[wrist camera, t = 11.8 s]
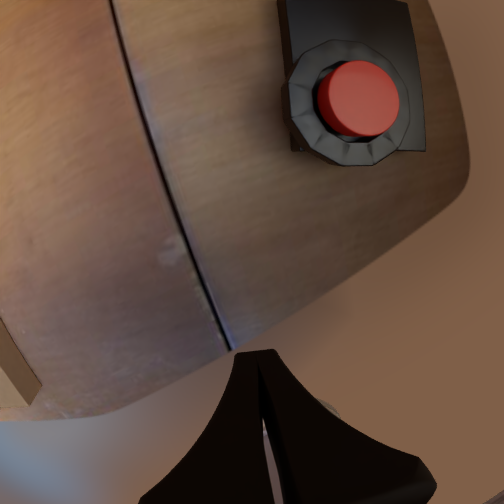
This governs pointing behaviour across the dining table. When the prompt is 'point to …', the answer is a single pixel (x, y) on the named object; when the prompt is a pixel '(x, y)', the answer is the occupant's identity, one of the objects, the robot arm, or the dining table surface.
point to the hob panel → (15, 375)
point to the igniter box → (337, 53)
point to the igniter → (358, 99)
